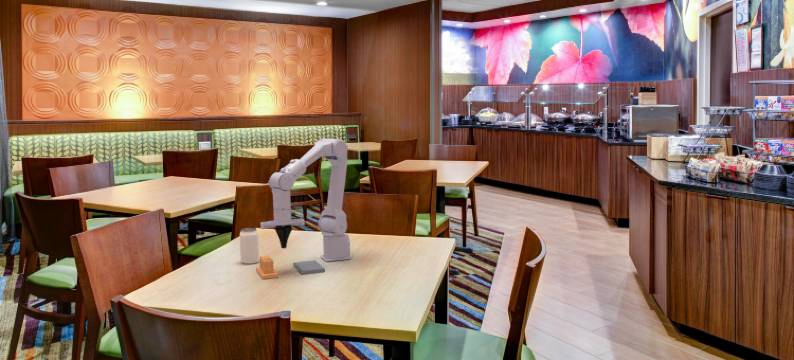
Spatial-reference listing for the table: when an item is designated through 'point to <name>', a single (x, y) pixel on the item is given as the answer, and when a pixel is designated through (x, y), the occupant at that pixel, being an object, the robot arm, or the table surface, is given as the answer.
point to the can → (249, 246)
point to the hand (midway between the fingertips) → (283, 247)
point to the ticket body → (308, 267)
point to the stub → (266, 268)
